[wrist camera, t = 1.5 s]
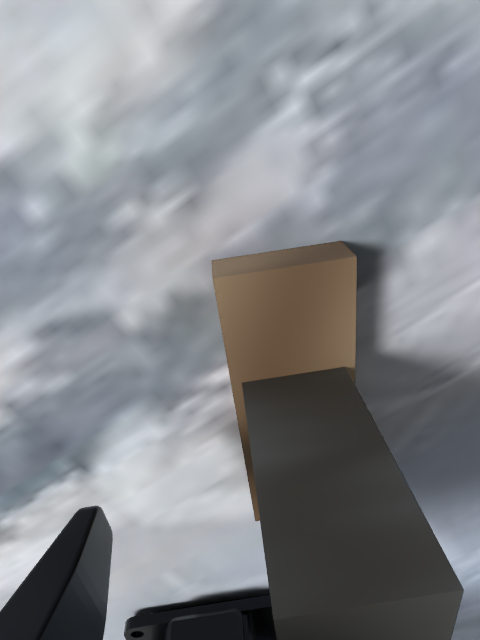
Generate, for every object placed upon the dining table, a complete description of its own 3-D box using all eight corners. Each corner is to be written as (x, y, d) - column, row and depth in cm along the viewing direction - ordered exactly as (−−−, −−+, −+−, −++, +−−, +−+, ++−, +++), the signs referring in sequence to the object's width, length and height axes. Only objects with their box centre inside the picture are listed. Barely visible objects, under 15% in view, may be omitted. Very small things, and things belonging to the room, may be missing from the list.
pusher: (339, 238, 9) (529, 431, 4) (341, 473, 13) (438, 734, 8) (211, 258, 9) (223, 479, 4) (251, 487, 13) (284, 759, 8)
